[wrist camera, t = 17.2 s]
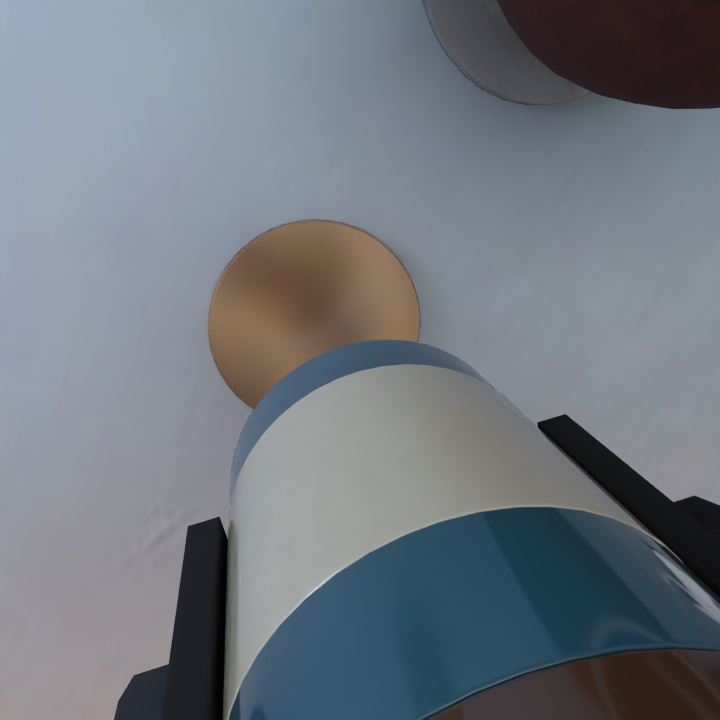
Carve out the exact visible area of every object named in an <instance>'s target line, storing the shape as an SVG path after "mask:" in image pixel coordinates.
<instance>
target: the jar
mask: <svg viewBox="0 0 720 720" xmlns="http://www.w3.org/2000/svg"><path fill="white" fill-rule="evenodd" d="M223 720H720V597H719V596H718V595H717V594H716V593H715V592H713V591H712V590H711V589H710V588H709V587H708V586H707V585H706V584H705V583H704V582H703V581H702V580H701V579H699V578H698V577H697V576H696V575H695V574H694V573H693V572H692V571H691V570H690V569H689V568H688V567H687V566H685V564H684V563H683V562H682V560H681V559H680V558H679V557H678V556H677V555H676V554H675V553H673V552H672V551H671V550H670V549H669V548H668V547H667V546H666V545H665V544H664V543H663V542H662V541H661V540H659V539H658V538H657V537H656V536H655V535H654V534H653V533H652V532H651V531H650V530H649V529H648V528H646V527H645V526H644V525H643V524H642V523H641V522H640V521H639V520H638V519H637V518H636V517H635V516H633V515H632V514H631V513H630V512H629V511H628V510H627V509H626V508H625V507H624V506H623V505H622V504H621V503H619V502H618V501H617V500H616V499H615V498H614V497H613V496H612V495H611V494H610V493H609V492H608V491H606V490H605V489H604V488H603V487H602V486H601V485H600V484H599V483H598V482H597V481H596V480H595V479H593V478H592V477H591V476H590V475H589V474H588V473H587V472H586V471H585V470H584V469H583V468H582V467H581V466H579V465H578V464H577V463H576V462H575V461H574V460H573V459H572V458H571V457H570V456H569V455H568V454H566V453H565V452H564V451H563V450H562V449H561V448H560V447H559V446H558V445H557V444H556V443H555V442H553V441H552V440H551V439H550V438H549V437H548V436H547V435H546V434H545V433H544V432H543V431H542V430H541V429H539V428H538V427H537V426H536V425H535V424H534V423H533V422H532V421H531V420H530V419H529V418H528V417H526V416H525V415H524V414H523V413H522V412H521V411H520V410H519V409H518V408H517V407H516V406H515V405H513V404H512V403H511V402H510V401H509V400H508V399H507V398H506V397H505V396H504V395H503V394H501V393H500V392H498V391H497V390H496V389H495V388H494V387H493V386H492V385H491V384H490V383H489V382H487V381H486V380H485V379H484V378H483V377H482V376H481V375H480V374H479V373H478V372H477V371H476V370H475V369H473V368H472V367H471V366H469V365H468V364H467V363H465V362H464V361H462V360H461V359H459V358H458V357H456V356H454V355H452V354H450V353H448V352H446V351H443V350H441V349H438V348H435V347H432V346H429V345H426V344H422V343H417V342H411V341H406V340H387V339H384V340H372V341H363V342H358V343H354V344H349V345H344V346H342V347H339V348H336V349H333V350H330V351H327V352H325V353H323V354H321V355H318V356H316V357H314V358H312V359H310V360H308V361H306V362H305V363H303V364H302V365H300V366H299V367H297V368H296V369H294V370H293V371H291V372H290V373H288V374H287V375H286V376H285V377H284V378H283V379H281V380H280V381H279V382H278V383H277V384H275V385H274V386H273V387H272V389H271V390H270V391H269V392H268V393H267V394H266V395H265V396H264V397H263V398H262V400H261V401H260V402H259V404H258V405H257V406H256V408H255V409H254V411H253V412H252V414H251V415H250V416H249V418H248V420H247V422H246V424H245V426H244V428H243V430H242V432H241V434H240V437H239V440H238V443H237V446H236V448H235V451H234V457H233V462H232V467H231V483H230V509H229V525H228V557H227V591H226V626H225V660H224V694H223Z"/></svg>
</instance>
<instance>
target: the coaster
mask: <svg viewBox="0 0 720 720" xmlns="http://www.w3.org/2000/svg"><path fill="white" fill-rule="evenodd" d="M208 324H209V340H210V346H211V351H212V354H213V357H214V361H215V363H216V365H217V367H218V370H219V372H220V374H221V376H222V377H223V379H224V380H225V382H226V383H227V385H228V386H229V387H230V388H231V390H232V391H233V392H234V393H235V394H236V395H237V396H238V397H239V398H240V399H241V400H242V401H243V402H244V403H246V404H247V405H248V406H250V407H251V408H253V409H255V408H256V406H257V405H258V404H259V402H260V401H261V400H262V398H263V397H264V396H265V395H266V394H267V393H268V392H269V391H270V390H271V389H272V387H273V386H274V385H275V384H277V383H278V382H279V381H280V380H281V379H283V378H284V377H285V376H286V375H287V374H288V373H290V372H291V371H293V370H294V369H296V368H297V367H299V366H300V365H302V364H303V363H305V362H306V361H308V360H310V359H312V358H314V357H316V356H318V355H321V354H323V353H325V352H327V351H330V350H333V349H336V348H339V347H342V346H344V345H349V344H354V343H358V342H363V341H372V340H384V339H387V340H406V341H411V342H417V343H418V340H419V335H420V324H421V323H420V308H419V302H418V297H417V294H416V290H415V287H414V284H413V282H412V280H411V278H410V276H409V274H408V272H407V271H406V269H405V267H404V266H403V264H402V263H401V261H400V260H399V259H398V258H397V257H396V256H395V255H394V253H393V252H392V251H391V250H390V249H388V248H387V247H386V246H385V245H384V244H383V243H382V242H380V241H379V240H377V239H376V238H374V237H373V236H371V235H370V234H368V233H366V232H364V231H362V230H360V229H358V228H356V227H353V226H350V225H347V224H344V223H340V222H334V221H329V220H304V221H297V222H292V223H288V224H284V225H281V226H279V227H276V228H273V229H271V230H269V231H267V232H265V233H263V234H261V235H260V236H258V237H256V238H255V239H254V240H252V241H251V242H250V243H248V244H247V245H246V246H245V247H244V248H243V249H241V250H240V251H239V252H238V253H237V254H236V255H235V257H234V258H233V259H232V260H231V262H230V263H229V264H228V265H227V267H226V269H225V270H224V272H223V274H222V275H221V277H220V279H219V281H218V284H217V286H216V288H215V291H214V294H213V298H212V302H211V306H210V313H209V321H208Z"/></svg>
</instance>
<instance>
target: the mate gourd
mask: <svg viewBox="0 0 720 720" xmlns="http://www.w3.org/2000/svg"><path fill="white" fill-rule="evenodd" d="M423 2H424V5H425V8H426V11H427V14H428V17H429V20H430V23H431V26H432V29H433V31H434V33H435V34H436V36H437V38H438V40H439V42H440V44H441V45H442V47H443V49H444V51H445V53H446V54H447V55H448V56H449V58H450V59H451V60H452V61H453V62H454V64H455V65H456V66H457V67H458V68H459V70H460V71H461V72H462V73H463V74H464V75H465V76H467V77H468V78H469V79H470V80H472V81H473V82H474V83H475V84H477V85H478V86H479V87H480V88H482V89H483V90H485V91H487V92H490V93H492V94H494V95H496V96H498V97H500V98H502V99H504V100H508V101H513V102H517V103H522V104H526V105H550V104H557V103H561V102H566V101H570V100H574V99H578V98H581V97H583V96H586V95H588V94H590V93H592V92H594V93H597V94H599V95H602V96H606V97H610V98H614V99H619V100H623V101H627V102H631V103H636V104H643V105H650V106H656V107H663V108H670V109H707V108H720V0H423Z"/></svg>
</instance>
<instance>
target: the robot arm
mask: <svg viewBox="0 0 720 720" xmlns="http://www.w3.org/2000/svg"><path fill="white" fill-rule="evenodd" d="M537 423H538V428H539V429H541V430H542V431H543V432H544V433H545V434H546V435H547V436H548V437H549V438H550V439H551V440H552V441H553V442H555V443H556V444H557V445H558V446H559V447H560V448H561V449H562V450H563V451H564V452H565V453H566V454H568V455H569V456H570V457H571V458H572V459H573V460H574V461H575V462H576V463H577V464H578V465H579V466H581V467H582V468H583V469H584V470H585V471H586V472H587V473H588V474H589V475H590V476H591V477H592V478H593V479H595V480H596V481H597V482H598V483H599V484H600V485H601V486H602V487H603V488H604V489H605V490H606V491H608V492H609V493H610V494H611V495H612V496H613V497H614V498H615V499H616V500H617V501H618V502H619V503H621V504H622V505H623V506H624V507H625V508H626V509H627V510H628V511H629V512H630V513H631V514H632V515H633V516H635V517H636V518H637V519H638V520H639V521H640V522H641V523H642V524H643V525H644V526H645V527H646V528H648V529H649V530H650V531H651V532H652V533H653V534H654V535H655V536H656V537H657V538H658V539H659V540H661V541H662V542H663V543H664V544H665V545H666V546H667V547H668V548H669V549H670V550H671V551H672V552H673V553H675V554H676V555H677V556H678V557H679V558H680V559H681V560H682V562H683V563H684V564H685V566H687V567H688V568H689V569H690V570H691V571H692V572H693V573H694V574H695V575H696V576H697V577H698V578H699V579H701V580H702V581H703V582H704V583H705V584H706V585H707V586H708V587H709V588H710V589H711V590H712V591H713V592H715V593H716V594H717V595H718V596H719V597H720V505H717V504H715V503H712V502H709V501H707V500H704V499H702V498H699V497H697V496H692V497H689V498H686V499H682V500H679V501H676V502H672V501H671V500H670V499H669V498H667V497H666V496H665V495H664V494H663V493H661V492H660V491H659V490H658V489H656V488H655V487H654V486H653V485H652V484H650V483H649V482H648V481H647V480H645V479H644V478H643V477H642V476H641V475H639V474H638V473H637V472H636V471H634V470H633V469H632V468H631V467H630V466H628V465H627V464H626V463H625V462H623V461H622V460H621V459H620V458H619V457H617V456H616V455H615V454H614V453H612V452H611V451H610V450H609V449H607V448H606V447H605V446H604V445H603V444H601V443H600V442H599V441H598V440H596V439H595V438H594V437H593V436H592V435H590V434H589V433H588V432H587V431H585V430H584V429H583V428H582V427H581V426H579V425H578V424H577V423H576V422H574V421H573V420H572V419H571V418H570V417H568V416H567V415H566V414H564V415H561V416H558V417H554V418H551V419H548V420H544V421H541V422H537ZM227 557H228V539H227V536H226V533H225V531H224V528H223V525H222V522H221V520H220V517H217V518H214V519H211V520H207V521H204V522H200V523H197V524H194V525H190V526H188V530H187V537H186V544H185V552H184V559H183V566H182V573H181V580H180V588H179V595H178V602H177V609H176V617H175V624H174V631H173V638H172V645H171V653H170V660H169V664H168V665H165V666H162V667H159V668H156V669H152V670H149V671H146V672H143V673H140V674H137V675H134V676H133V678H132V680H131V681H130V683H129V685H128V686H127V688H126V689H125V691H124V693H123V694H122V696H121V698H120V699H119V701H118V705H117V709H116V714H115V718H114V720H223V694H224V660H225V626H226V591H227Z"/></svg>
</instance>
